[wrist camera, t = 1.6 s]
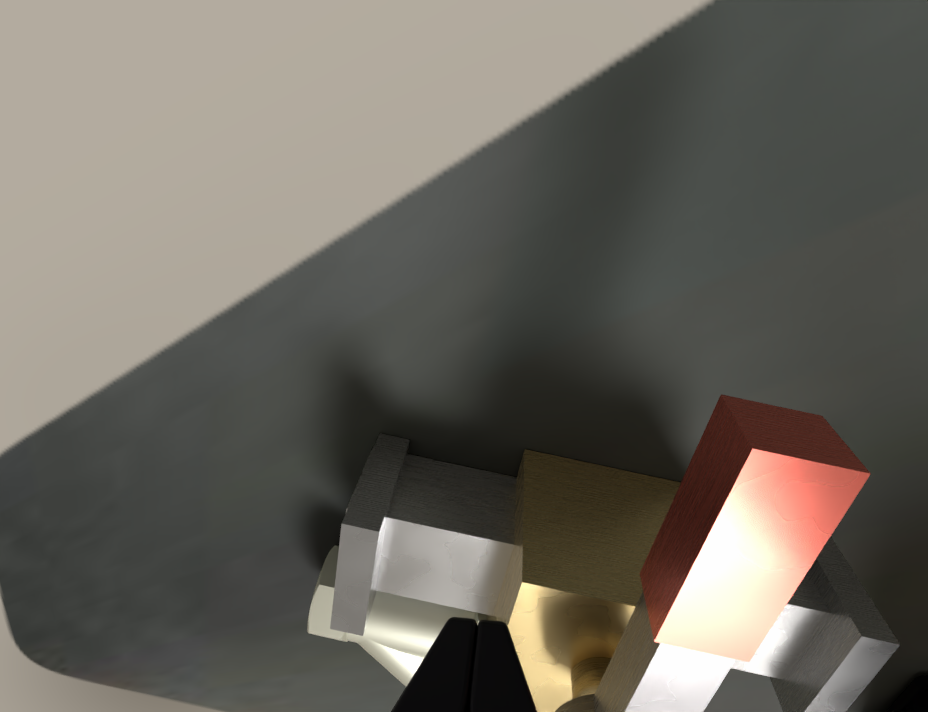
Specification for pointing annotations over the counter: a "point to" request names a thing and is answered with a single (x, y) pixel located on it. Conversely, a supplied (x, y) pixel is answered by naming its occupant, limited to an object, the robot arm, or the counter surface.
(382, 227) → the counter surface
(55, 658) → the counter surface
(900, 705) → the robot arm
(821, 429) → the lever
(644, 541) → the valve
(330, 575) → the pipe fitting
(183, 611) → the counter surface
